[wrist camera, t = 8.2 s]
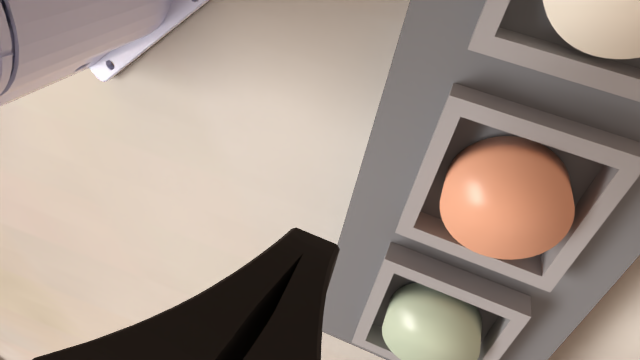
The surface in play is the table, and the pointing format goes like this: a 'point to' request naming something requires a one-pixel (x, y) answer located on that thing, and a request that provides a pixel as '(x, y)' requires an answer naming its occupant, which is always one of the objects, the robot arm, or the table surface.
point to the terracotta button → (507, 198)
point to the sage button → (431, 325)
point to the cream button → (598, 26)
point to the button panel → (466, 129)
